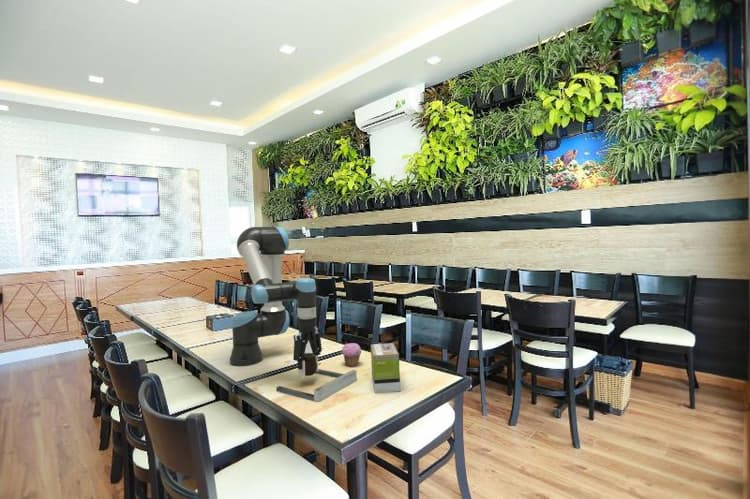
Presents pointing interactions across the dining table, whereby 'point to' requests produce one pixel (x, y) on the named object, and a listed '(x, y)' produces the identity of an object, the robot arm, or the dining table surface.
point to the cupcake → (351, 353)
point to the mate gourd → (310, 363)
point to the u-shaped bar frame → (325, 389)
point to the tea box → (385, 368)
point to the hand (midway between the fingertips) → (308, 373)
